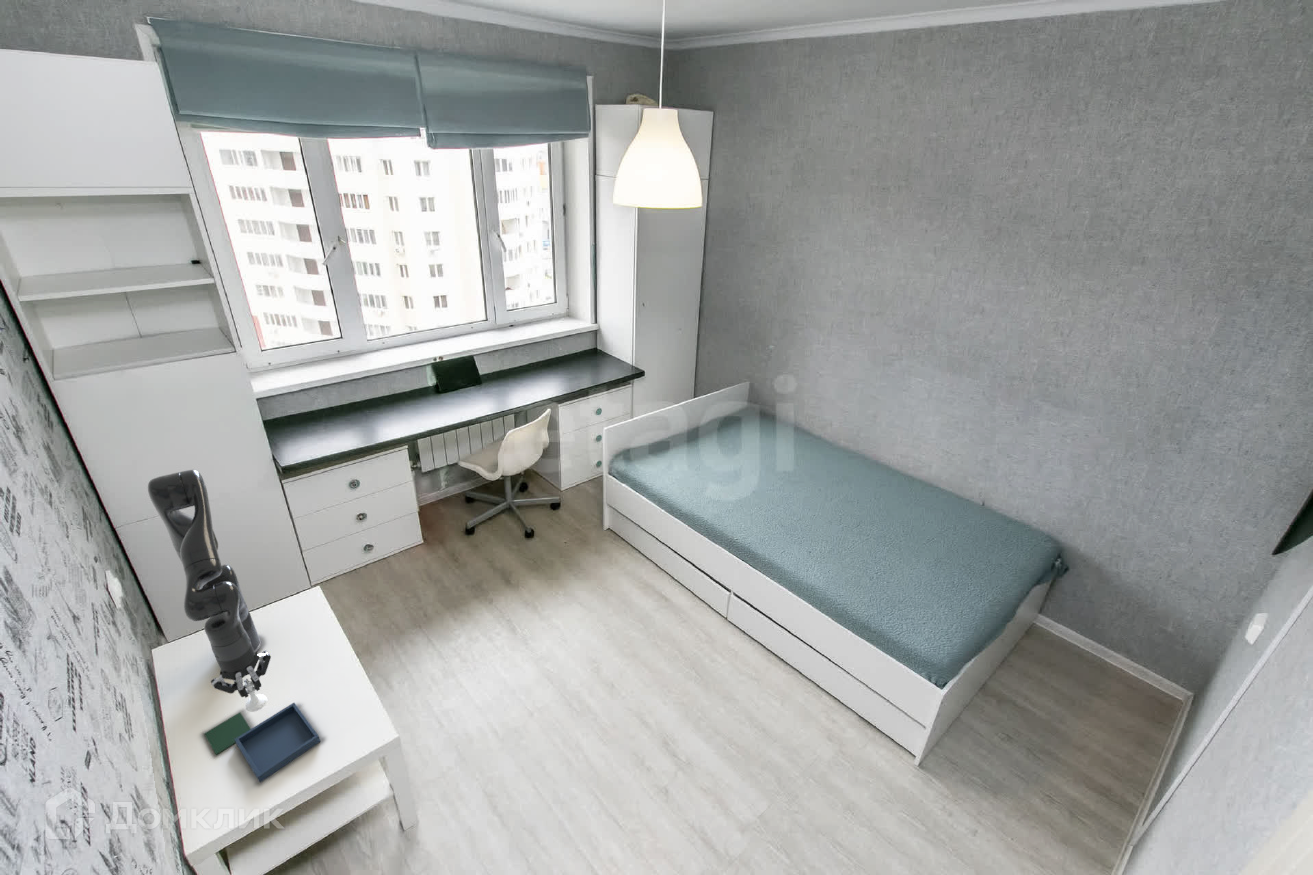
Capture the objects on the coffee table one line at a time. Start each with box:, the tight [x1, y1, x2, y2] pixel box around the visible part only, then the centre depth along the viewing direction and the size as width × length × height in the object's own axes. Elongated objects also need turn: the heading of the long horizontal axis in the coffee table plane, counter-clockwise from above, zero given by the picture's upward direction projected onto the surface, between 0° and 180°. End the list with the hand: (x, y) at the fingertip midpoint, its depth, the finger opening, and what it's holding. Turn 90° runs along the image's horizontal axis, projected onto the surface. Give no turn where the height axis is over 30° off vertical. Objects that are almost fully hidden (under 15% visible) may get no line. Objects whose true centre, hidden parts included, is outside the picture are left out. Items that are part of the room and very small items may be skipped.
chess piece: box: [243, 678, 268, 713], centre depth 157 cm, size 5×5×10 cm
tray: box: [234, 702, 321, 783], centre depth 165 cm, size 16×16×2 cm
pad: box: [203, 712, 251, 756], centre depth 167 cm, size 9×9×1 cm
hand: (251, 691), depth 157 cm, fingers closed on chess piece
